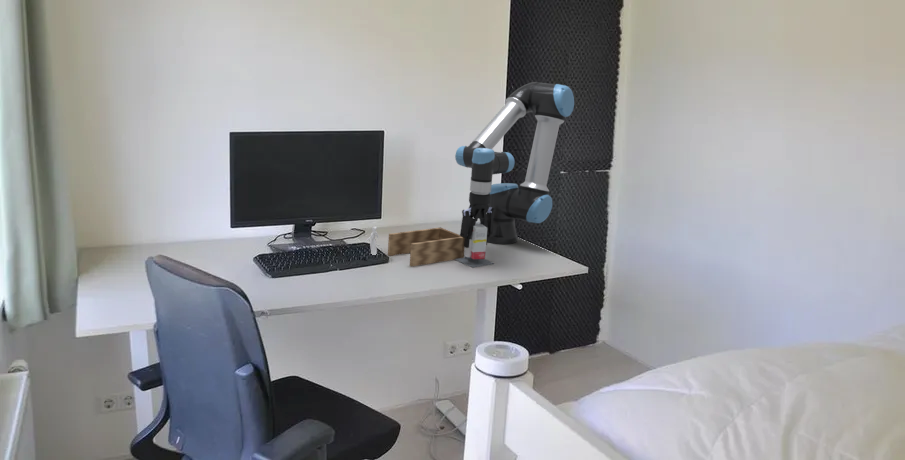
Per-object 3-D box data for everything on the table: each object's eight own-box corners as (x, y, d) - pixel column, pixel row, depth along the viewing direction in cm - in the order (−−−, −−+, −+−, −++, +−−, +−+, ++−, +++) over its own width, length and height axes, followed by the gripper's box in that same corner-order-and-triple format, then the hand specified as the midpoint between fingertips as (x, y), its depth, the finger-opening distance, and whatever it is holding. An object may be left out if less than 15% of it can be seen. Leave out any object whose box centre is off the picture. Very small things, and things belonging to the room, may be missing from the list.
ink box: (485, 259, 254) (488, 227, 251) (472, 259, 252) (475, 227, 249) (477, 252, 262) (479, 221, 259) (464, 252, 260) (466, 221, 257)
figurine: (371, 252, 259) (372, 221, 256) (389, 258, 254) (391, 226, 251) (354, 257, 252) (355, 224, 249) (373, 263, 247) (374, 230, 244)
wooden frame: (439, 247, 273) (440, 227, 271) (463, 258, 261) (465, 237, 259) (387, 255, 258) (388, 233, 256) (411, 266, 247) (412, 244, 245)
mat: (475, 256, 264) (475, 255, 264) (493, 264, 257) (493, 262, 257) (454, 260, 258) (455, 258, 258) (472, 267, 251) (472, 266, 251)
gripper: (493, 188, 260) (487, 249, 266) (452, 192, 248) (447, 255, 254) (507, 192, 254) (501, 254, 260) (466, 196, 242) (460, 260, 248)
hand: (474, 254), depth 257 cm, fingers closed on ink box, 6 cm apart
